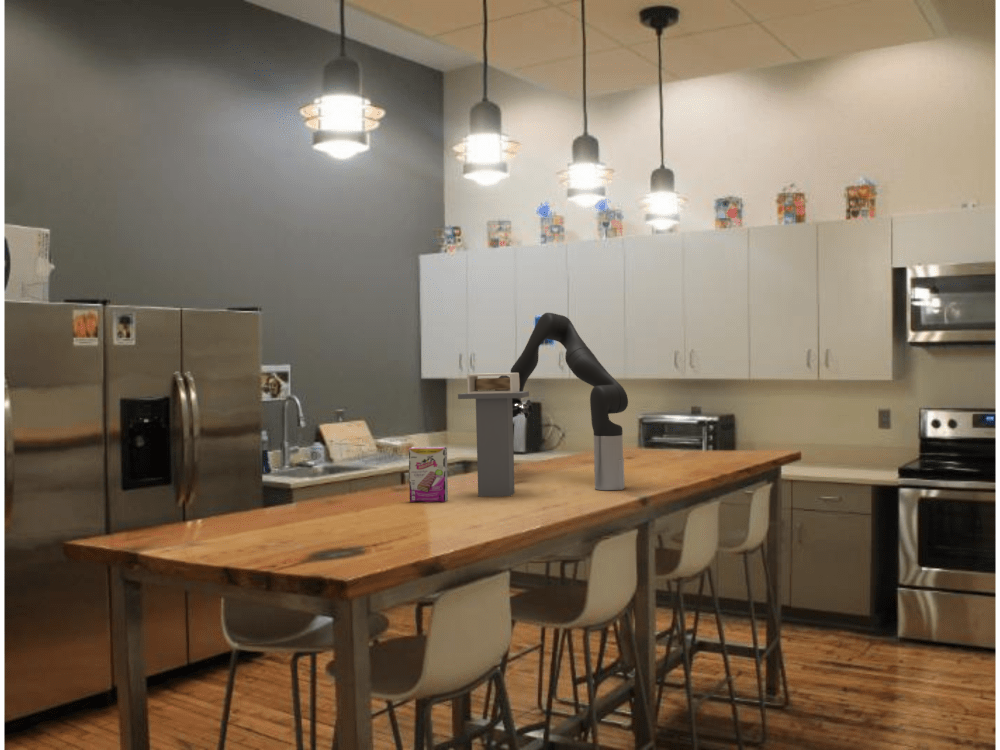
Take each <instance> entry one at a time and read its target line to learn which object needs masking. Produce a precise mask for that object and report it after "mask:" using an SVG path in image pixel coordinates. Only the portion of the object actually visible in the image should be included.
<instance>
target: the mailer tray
mask: <svg viewBox="0 0 1000 750" xmlns="http://www.w3.org/2000/svg"><path fill="white" fill-rule="evenodd" d="M519 388H520V378H519ZM506 389H510V378H499V377H487V378H478V379H476V390H478V391H479V390H506Z"/></svg>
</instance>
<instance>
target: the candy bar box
mask: <svg viewBox="0 0 1000 750" xmlns="http://www.w3.org/2000/svg"><path fill="white" fill-rule="evenodd" d="M408 466H409V467H408V471H409V473H408V477H409V480H408V481H409V502H410V503H445V502H447V501H448V499H449V491H448V489H449V488H448V486H449V485H448V483H449V479H448V447H447V446H412V447H409V448H408Z"/></svg>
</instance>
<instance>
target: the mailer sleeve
mask: <svg viewBox="0 0 1000 750" xmlns="http://www.w3.org/2000/svg"><path fill="white" fill-rule="evenodd" d="M497 376H498V377H500V376H509V377H510V390H476V379H479V377H497ZM466 377H467V393H468V394H491V393H515V392H519V373H511V372H493V373H492V372H490V373H486V372H485V373H468V374H467V375H466Z"/></svg>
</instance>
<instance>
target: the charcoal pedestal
mask: <svg viewBox="0 0 1000 750" xmlns="http://www.w3.org/2000/svg"><path fill="white" fill-rule="evenodd" d="M529 396H530V391H529V390H528V391H527V390H526V391H524V390H523V391H522V392H515V393H491V394H468V392H464V393H458V394H457V399H458V400H475V422H476V423H475V425H476V428H475V429H476V460H477V461H476V462H477V465H476V466H477V468H476V469H477V496H478V497H482V498H483V497H484V498H485V496H486V498H488V497H487V496H489V498H490V497H491V498H492V497H493V498H494V497H496V498H497V497H499V498H500V497H501V498H503V496H510V497H511V496H513V495H514V494H515V491H516V490H515V489H516V488H515V457H514V456H515V455H514V452H515V451H514V447H515V446H514V426H513V425H514V417H513V409H512V398H521V399H522V398H524V399H525V398H528V397H529Z"/></svg>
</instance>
